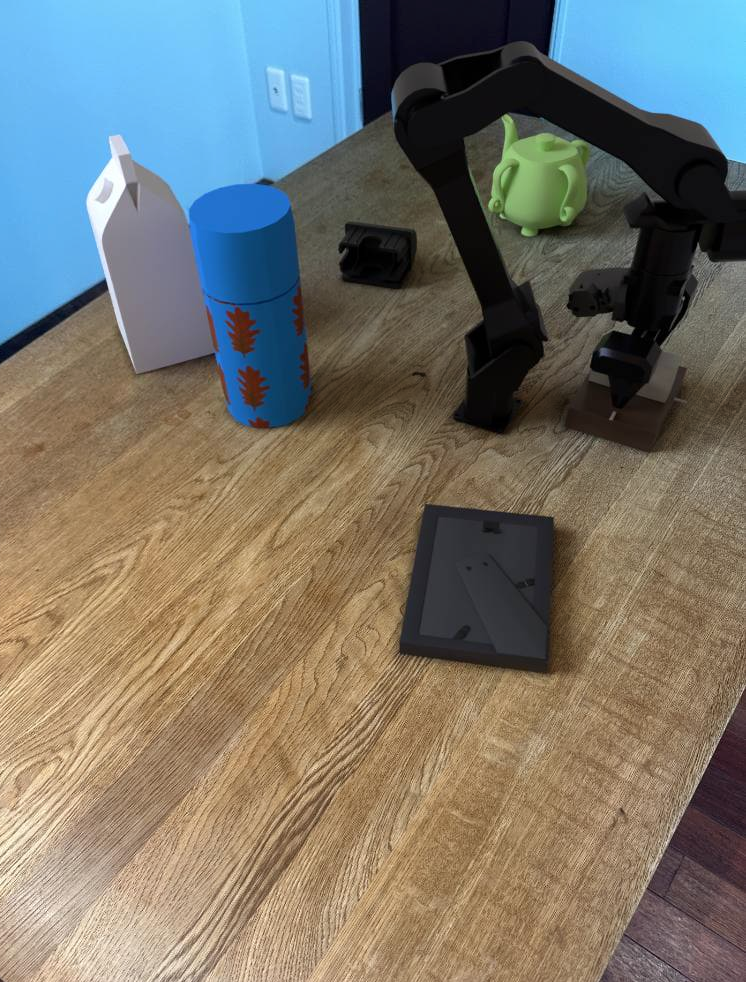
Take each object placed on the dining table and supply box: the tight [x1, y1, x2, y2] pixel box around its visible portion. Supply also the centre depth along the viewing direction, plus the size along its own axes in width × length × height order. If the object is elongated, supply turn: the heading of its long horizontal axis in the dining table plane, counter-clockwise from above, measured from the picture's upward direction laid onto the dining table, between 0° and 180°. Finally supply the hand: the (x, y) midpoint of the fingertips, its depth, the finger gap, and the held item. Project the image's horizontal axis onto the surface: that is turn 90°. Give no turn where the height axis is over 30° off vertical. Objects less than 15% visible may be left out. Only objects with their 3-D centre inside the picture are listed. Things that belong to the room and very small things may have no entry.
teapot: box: [487, 114, 591, 237], centre depth 123 cm, size 16×14×13 cm
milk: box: [85, 134, 215, 375], centre depth 102 cm, size 12×12×26 cm
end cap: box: [337, 220, 418, 290], centre depth 117 cm, size 10×7×7 cm
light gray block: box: [589, 334, 682, 403], centre depth 93 cm, size 9×2×5 cm, turn 59°
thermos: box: [188, 183, 312, 429], centre depth 92 cm, size 11×11×25 cm
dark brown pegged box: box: [564, 365, 688, 453], centre depth 96 cm, size 13×13×3 cm
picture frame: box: [398, 503, 555, 674], centre depth 79 cm, size 13×2×18 cm
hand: (629, 384), depth 94 cm, fingers open, 9 cm apart
